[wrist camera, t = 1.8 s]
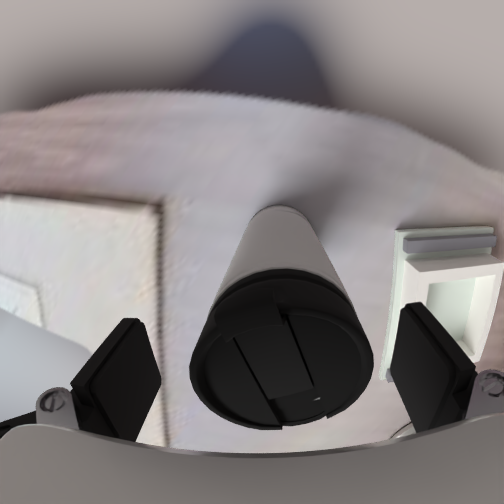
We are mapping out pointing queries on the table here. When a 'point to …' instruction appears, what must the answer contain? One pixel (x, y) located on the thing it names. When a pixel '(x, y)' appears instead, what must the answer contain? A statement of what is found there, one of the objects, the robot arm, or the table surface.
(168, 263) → the table surface
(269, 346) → the travel mug
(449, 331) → the white rectangular tray
